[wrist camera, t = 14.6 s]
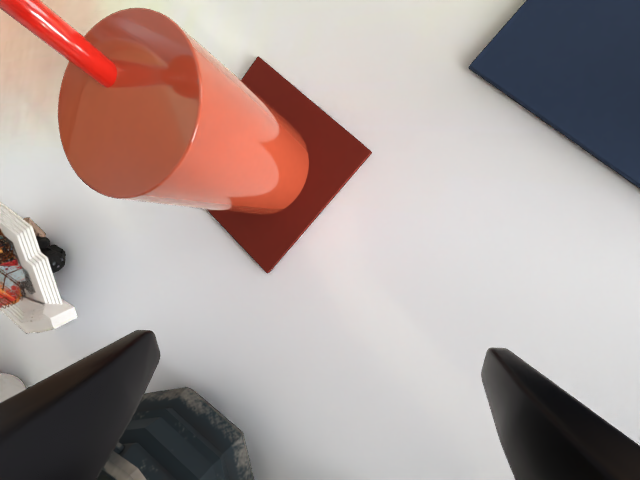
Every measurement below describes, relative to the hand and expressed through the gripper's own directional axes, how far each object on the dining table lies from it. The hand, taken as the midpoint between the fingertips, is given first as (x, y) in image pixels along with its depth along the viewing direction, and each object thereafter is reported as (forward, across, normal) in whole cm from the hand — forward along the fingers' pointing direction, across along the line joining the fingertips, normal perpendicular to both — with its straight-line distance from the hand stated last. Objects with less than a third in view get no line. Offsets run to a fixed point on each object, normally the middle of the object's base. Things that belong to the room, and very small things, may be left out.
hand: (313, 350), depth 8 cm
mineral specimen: (+15, +24, +6) cm, 29 cm away
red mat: (+14, +5, -2) cm, 15 cm away
